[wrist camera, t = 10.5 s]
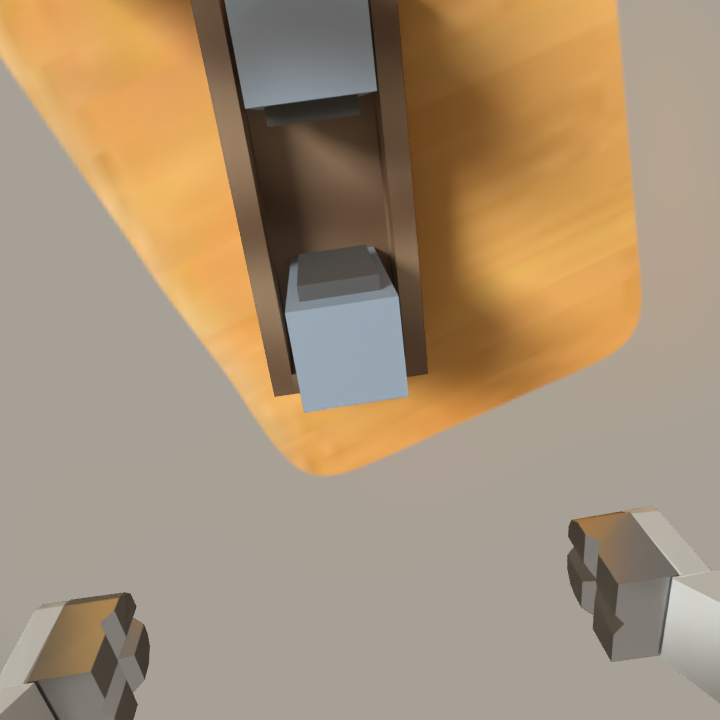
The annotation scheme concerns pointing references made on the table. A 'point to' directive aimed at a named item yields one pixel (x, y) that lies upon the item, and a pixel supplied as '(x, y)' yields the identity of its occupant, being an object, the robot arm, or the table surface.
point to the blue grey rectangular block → (345, 329)
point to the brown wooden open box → (314, 148)
